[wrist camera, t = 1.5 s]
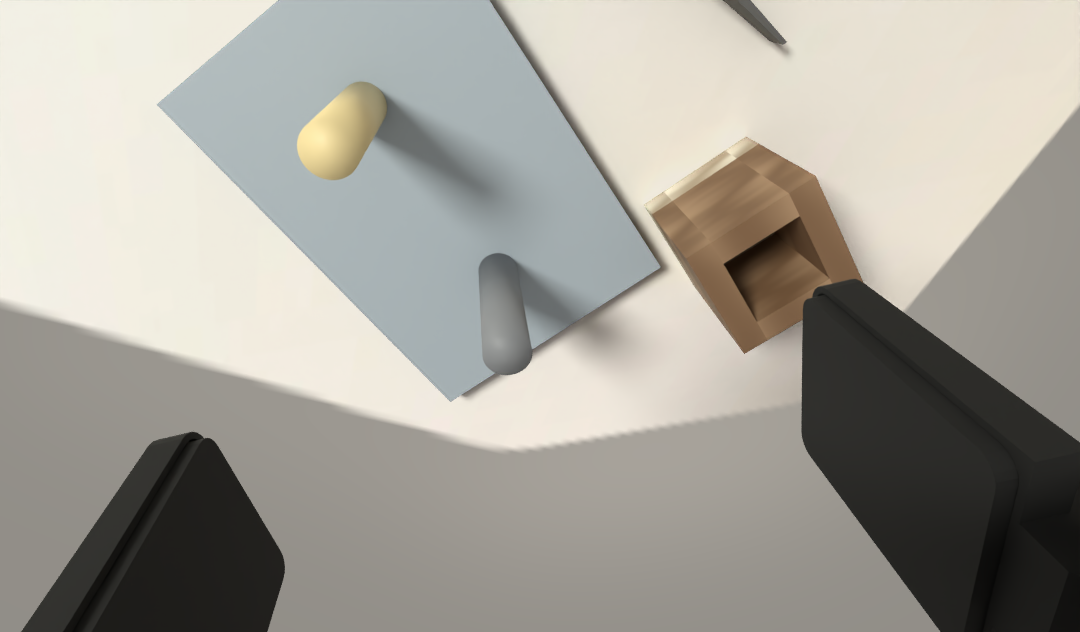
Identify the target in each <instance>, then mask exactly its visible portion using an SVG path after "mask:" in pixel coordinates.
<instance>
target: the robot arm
mask: <svg viewBox="0 0 1080 632" xmlns="http://www.w3.org/2000/svg"><path fill="white" fill-rule="evenodd" d="M802 438H803V442H804V445H805V447H806V450H807V452H808V453H809V455H810V456H811V458H812V459H813V460H814V462H815V463H816V465H817V466H818V467H819V469H820V470H821V471H822V473H823V474H824V475H825V477H826V478H827V479H828V481H829V482H830V483H831V485H832V486H833V487H834V489H835V490H836V491H837V493H838V494H839V495H840V497H841V498H842V500H843V501H844V502H845V504H846V505H847V506H848V508H849V509H850V510H851V512H852V513H853V514H854V516H855V517H856V518H857V520H858V521H859V522H860V524H861V525H862V526H863V528H864V529H865V530H866V532H867V533H868V535H869V536H870V537H871V539H872V540H873V541H874V543H875V544H876V545H877V547H878V548H879V549H880V551H881V552H882V553H883V555H884V556H885V557H886V559H887V560H888V561H889V563H890V564H891V565H892V567H893V568H894V570H895V571H896V572H897V574H898V575H899V576H900V578H901V579H902V580H903V582H904V583H905V584H906V586H907V587H908V589H909V590H910V591H911V592H912V594H913V595H914V597H915V598H916V599H917V601H918V602H919V603H920V605H921V606H922V607H923V609H924V610H925V611H926V613H927V614H928V615H929V617H930V618H931V619H932V621H933V622H934V624H935V625H936V626H937V627H938V629H939V630H940V632H1080V442H1078V441H1077V440H1076V439H1074V438H1073V437H1072V436H1070V435H1069V434H1067V433H1066V432H1065V431H1064V430H1062V429H1061V428H1059V427H1058V426H1057V425H1055V424H1054V423H1053V422H1051V421H1050V420H1049V419H1047V418H1046V417H1044V416H1043V415H1042V414H1040V413H1039V412H1038V411H1036V410H1035V409H1034V408H1032V407H1031V406H1030V405H1028V404H1027V403H1025V402H1024V401H1023V400H1021V399H1020V398H1019V397H1017V396H1016V395H1015V394H1013V393H1012V392H1010V391H1009V390H1008V389H1007V388H1005V387H1004V386H1002V385H1001V384H1000V383H998V382H997V381H996V380H994V379H993V378H991V377H990V376H989V375H988V374H986V373H985V372H983V371H982V370H981V369H979V368H978V367H977V366H975V365H974V364H973V363H971V362H970V361H969V360H967V359H966V358H965V357H963V356H962V355H960V354H959V353H958V352H956V351H955V350H953V349H952V348H951V347H949V346H948V345H947V344H946V343H944V342H943V341H941V340H940V339H939V338H937V337H936V336H934V335H933V334H932V333H931V332H929V331H928V330H927V329H925V328H923V327H922V326H921V325H920V324H918V323H917V322H916V321H914V320H913V319H912V318H910V317H909V316H908V315H906V314H905V313H903V312H902V311H901V310H899V309H898V308H897V307H895V306H894V305H893V304H891V303H890V302H889V301H887V300H886V299H884V298H883V297H882V296H880V295H879V294H878V293H876V292H875V291H874V290H872V289H871V288H870V287H868V286H867V285H866V284H864V283H863V282H861V281H860V280H858V279H849V280H845V281H841V282H836V283H832V284H828V285H823V286H819V287H817V288H816V289H815V290H814V292H813V295H812V298H809V299H806V300H805V302H804V304H803V342H802ZM284 573H285V565H284V559H283V555H282V553H281V551H280V549H279V548H278V546H277V545H276V543H275V541H274V539H273V538H272V536H271V534H270V533H269V531H268V529H267V528H266V526H265V524H264V523H263V521H262V519H261V518H260V516H259V514H258V512H257V511H256V509H255V507H254V506H253V504H252V502H251V501H250V499H249V497H248V496H247V494H246V492H245V491H244V489H243V487H242V486H241V484H240V482H239V481H238V479H237V477H236V476H235V474H234V473H233V471H232V469H231V467H230V466H229V464H228V462H227V461H226V459H225V457H224V456H223V454H222V452H221V451H220V449H219V447H218V446H217V444H216V443H215V442H214V441H213V440H212V439H210V438H205V439H204V438H203V437H202V436H201V435H200V434H198V433H196V432H189V433H185V434H181V435H176V436H172V437H168V438H163V439H159V440H156V441H153V442H152V443H151V444H150V445H149V446H148V447H147V449H146V450H145V452H144V453H143V455H142V456H141V458H140V459H139V461H138V462H137V463H136V465H135V466H134V468H133V470H132V471H131V472H130V474H129V475H128V477H127V478H126V480H125V481H124V483H123V484H122V485H121V487H120V489H119V490H118V492H117V493H116V494H115V496H114V497H113V499H112V500H111V502H110V503H109V505H108V506H107V507H106V509H105V510H104V512H103V513H102V515H101V516H100V518H99V519H98V520H97V522H96V523H95V525H94V526H93V528H92V529H91V531H90V532H89V534H88V535H87V537H86V538H85V539H84V541H83V542H82V544H81V545H80V547H79V548H78V550H77V551H76V553H75V554H74V556H73V557H72V558H71V560H70V561H69V563H68V564H67V566H66V567H65V569H64V570H63V572H62V573H61V575H60V576H59V578H58V579H57V580H56V582H55V583H54V585H53V586H52V588H51V589H50V591H49V592H48V594H47V595H46V596H45V598H44V600H43V601H42V602H41V604H40V605H39V607H38V608H37V610H36V611H35V613H34V614H33V616H32V617H31V619H30V620H29V621H28V623H27V624H26V626H25V627H24V629H23V630H22V632H267V631H268V627H269V624H270V621H271V617H272V614H273V611H274V608H275V605H276V601H277V598H278V595H279V591H280V588H281V585H282V581H283V578H284Z"/></svg>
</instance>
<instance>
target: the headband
mask: <svg viewBox="0 0 1080 632" xmlns="http://www.w3.org/2000/svg"><path fill="white" fill-rule="evenodd" d="M723 1H725V2H726V3H727V4H728V5H729V6H730V7H731V8H733V9H734V10H735V11H736V12H737V13H738V14H739V15H741V16H742V17H743V18H744V19H745V20H746V21H748V22H749V23H750V24H751V25H752V26H753V27H754V28H756V29H757V30H758V31H759V32H760V33H761V34H762V35H764V36H765V37H766V38H767V39H768V40H769V41H772V42H776V43H779V44H782V45H783V44H785V43H786V41H785V39H784V38H783V37H782V36H781V35H780V34H779V33H778V31H777V30H776V29H775V28H774V27H773V26H772V24H771V23H770V22H769V21H768V20H767V19H766V18H765V16H764V15H763V14H762V13H761V12H760V11H759V10H758V8H757V7H756V6H755V5H754V4H753V3H752V1H751V0H723Z"/></svg>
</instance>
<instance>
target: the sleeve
mask: <svg viewBox="0 0 1080 632" xmlns="http://www.w3.org/2000/svg"><path fill="white" fill-rule="evenodd" d="M644 206H645V208H646V209H647V211H648V212H649V214H650V216H651V217H652V219H653V220H654V222H655V224H656V225H657V227H658V228H659V230H660V232H661V233H662V235H663V237H664V238H665V240H666V241H667V243H668V245H669V246H670V248H671V249H672V251H673V253H674V254H675V256H676V257H677V259H678V261H679V262H680V264H681V266H682V267H683V269H684V270H685V272H686V274H687V275H688V277H689V278H690V280H691V282H692V283H693V285H694V286H695V288H696V289H697V291H698V292H699V293H700V295H701V296H702V297H703V299H704V300H705V301H706V303H707V304H708V305H709V307H710V308H711V310H712V311H713V312H714V314H715V315H716V316H717V318H718V319H719V320H720V322H721V323H722V324H723V326H724V327H725V328H726V330H727V331H728V332H729V334H730V335H731V336H732V338H733V339H734V340H735V342H736V343H737V344H738V346H739V347H740V349H741V350H742V351H743V353H744V354H745V353H747V352H748V351H750V350H752V349H753V348H755V347H757V346H758V345H760V344H762V343H764V342H765V341H767V340H769V339H770V338H772V337H774V336H775V335H777V334H779V333H781V332H782V331H784V330H786V329H787V328H789V327H791V326H792V325H794V324H796V323H797V322H799V321H801V320H803V304H804V302H805V300H806V299H809V298H812V295H813V292H814V290H815V289H816V288H817V287H819V286H823V285H828V284H832V283H836V282H841V281H845V280H849V279H858V280H860V281H861V282H863V281H862V279H861V276H860V274H859V272H858V270H857V267H856V265H855V263H854V261H853V258H852V256H851V254H850V252H849V249H848V247H847V245H846V243H845V241H844V238H843V236H842V234H841V232H840V229H839V227H838V225H837V223H836V220H835V218H834V216H833V214H832V211H831V209H830V207H829V205H828V202H827V200H826V198H825V196H824V193H823V191H822V189H821V187H820V184H819V182H818V180H817V178H816V176H815V175H813V174H811V173H809V172H808V171H806V170H804V169H802V168H801V167H799V166H797V165H795V164H793V163H792V162H790V161H788V160H786V159H785V158H783V157H781V156H779V155H778V154H776V153H774V152H772V151H770V150H769V149H767V148H765V147H763V146H762V145H760V144H758V143H756V142H755V141H753V140H751V139H749V138H748V137H745V138H744V139H742V140H741V141H739V142H738V143H736V144H735V145H733V146H732V147H730V148H729V149H727V150H726V151H724V152H723V153H721V154H720V155H718V156H717V157H715V158H714V159H712V160H711V161H709V162H708V163H706V164H705V165H703V166H702V167H700V168H699V169H697V170H696V171H694V172H693V173H691V174H690V175H688V176H687V177H685V178H684V179H682V180H681V181H679V182H678V183H676V184H675V185H673V186H672V187H670V188H669V189H667V190H666V191H664V192H663V193H661V194H660V195H658V196H657V197H655V198H654V199H652V200H651V201H649V202H648V203H646V204H645V205H644Z"/></svg>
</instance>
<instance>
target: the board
mask: <svg viewBox="0 0 1080 632" xmlns="http://www.w3.org/2000/svg"><path fill="white" fill-rule="evenodd" d="M157 105H158V106H159V107H160V108H161V109H162V110H163V111H164V112H165V113H166V114H167V115H168V116H169V117H170V118H171V119H172V120H173V121H174V122H175V124H176V125H177V126H178V127H179V128H180V129H181V130H182V131H183V132H184V133H185V134H186V135H187V136H188V137H189V138H190V139H191V140H192V141H193V142H194V143H195V144H196V145H197V146H198V147H199V148H200V149H201V150H202V151H203V152H204V153H205V154H206V155H207V156H208V157H209V158H210V159H211V160H212V161H213V162H214V163H215V164H216V165H217V166H218V167H219V168H220V169H221V170H222V171H223V172H224V173H225V174H226V175H227V176H228V177H229V178H230V179H231V180H232V181H233V182H234V183H235V184H236V185H237V186H238V187H239V188H240V189H241V190H242V191H243V192H244V193H245V194H246V195H247V196H248V197H249V198H250V199H251V200H252V201H253V202H254V203H255V204H256V205H257V206H258V208H259V209H260V210H261V211H262V212H263V213H264V214H265V215H266V216H267V217H268V218H269V219H270V220H271V221H272V222H273V223H274V224H275V225H276V226H277V227H278V228H279V229H280V230H281V231H282V232H283V233H284V234H285V235H286V236H287V237H288V238H289V239H290V240H291V241H292V242H293V243H294V244H295V245H296V246H297V247H298V248H299V249H300V250H301V251H302V252H303V253H304V254H305V255H306V256H307V257H308V258H309V259H310V260H311V261H312V262H313V263H314V264H315V265H316V266H317V267H318V268H319V269H320V270H321V271H322V272H323V273H324V274H325V275H326V276H327V277H328V278H329V279H330V280H331V281H332V282H333V283H334V284H335V285H336V286H337V287H338V288H339V289H340V290H341V292H342V293H343V294H344V295H345V296H346V297H347V298H348V299H349V300H350V301H351V302H352V303H353V304H354V305H355V306H356V307H357V308H358V309H359V310H360V311H361V312H362V313H363V314H364V315H365V316H366V317H367V318H368V319H369V320H370V321H371V322H372V323H373V324H374V325H375V326H376V327H377V328H378V329H379V330H380V331H381V332H382V333H383V334H384V335H385V336H386V337H387V338H388V339H389V340H390V341H391V342H392V343H393V344H394V345H395V346H396V347H397V348H398V349H399V350H400V351H401V352H402V353H403V354H404V355H405V356H406V357H407V358H408V359H409V360H410V361H411V362H412V363H413V364H414V365H415V366H416V367H417V368H418V369H419V370H420V371H421V372H422V373H423V374H424V376H425V377H426V378H427V379H428V380H429V381H430V382H431V383H432V384H433V385H434V386H435V387H436V388H437V389H438V390H439V391H440V392H441V393H442V394H443V395H444V396H445V397H446V398H447V399H448V400H449V401H450V402H451V401H453V400H454V399H456V398H457V397H459V396H460V395H462V394H463V393H465V392H467V391H468V390H470V389H471V388H473V387H474V386H476V385H478V384H479V383H481V382H482V381H484V380H485V379H487V378H489V377H490V376H492V375H493V374H495V373H497V374H500V375H512V374H516V373H518V372H520V371H522V370H523V369H525V368H526V367H527V366H528V364H529V363H530V361H531V358H532V349H534V348H535V347H537V346H539V345H540V344H542V343H543V342H545V341H546V340H548V339H550V338H551V337H553V336H554V335H556V334H557V333H559V332H560V331H562V330H564V329H565V328H567V327H568V326H570V325H571V324H573V323H575V322H576V321H578V320H579V319H581V318H582V317H584V316H585V315H587V314H589V313H590V312H592V311H593V310H595V309H596V308H598V307H600V306H601V305H603V304H604V303H606V302H607V301H609V300H611V299H612V298H614V297H615V296H617V295H618V294H620V293H621V292H623V291H625V290H626V289H628V288H629V287H631V286H632V285H634V284H636V283H637V282H639V281H640V280H642V279H643V278H645V277H646V276H648V275H650V274H651V273H653V272H654V271H656V270H657V269H659V268H661V267H660V265H659V263H658V262H657V260H656V259H655V257H654V256H653V254H652V253H651V251H650V249H649V248H648V246H647V245H646V243H645V242H644V240H643V239H642V237H641V235H640V234H639V232H638V231H637V229H636V228H635V226H634V225H633V223H632V221H631V220H630V218H629V217H628V215H627V214H626V212H625V211H624V209H623V207H622V206H621V204H620V203H619V201H618V200H617V198H616V197H615V195H614V193H613V192H612V190H611V189H610V187H609V186H608V184H607V183H606V181H605V179H604V178H603V176H602V175H601V173H600V172H599V170H598V169H597V167H596V165H595V164H594V162H593V161H592V159H591V158H590V156H589V154H588V153H587V151H586V150H585V148H584V147H583V145H582V144H581V142H580V140H579V139H578V137H577V136H576V134H575V133H574V131H573V130H572V128H571V126H570V125H569V123H568V122H567V120H566V119H565V117H564V116H563V114H562V112H561V111H560V109H559V108H558V106H557V105H556V103H555V102H554V100H553V98H552V97H551V95H550V94H549V92H548V91H547V89H546V88H545V86H544V84H543V83H542V81H541V80H540V78H539V77H538V75H537V74H536V72H535V70H534V69H533V67H532V66H531V64H530V63H529V61H528V60H527V58H526V56H525V55H524V53H523V52H522V50H521V49H520V47H519V46H518V44H517V42H516V41H515V39H514V38H513V36H512V35H511V33H510V32H509V30H508V28H507V27H506V25H505V24H504V22H503V21H502V19H501V17H500V16H499V14H498V13H497V11H496V10H495V8H494V7H493V5H492V3H491V2H490V0H278V1H277V2H276V3H275V4H274V5H272V6H271V7H270V8H269V9H268V10H267V11H265V12H264V13H263V14H262V15H261V16H260V17H258V18H257V19H256V20H255V21H254V22H253V23H251V24H250V25H249V26H248V27H247V28H246V29H244V30H243V31H242V32H241V33H240V34H239V35H237V36H236V37H235V38H234V39H233V40H232V41H230V42H229V43H228V44H227V45H226V46H225V47H223V48H222V49H221V50H220V51H219V52H218V53H216V54H215V55H214V56H213V57H212V58H211V59H209V60H208V61H207V62H206V63H205V64H204V65H202V66H201V67H200V68H199V69H198V70H197V71H195V72H194V73H193V74H192V75H191V76H190V77H188V78H187V79H186V80H185V81H184V82H183V83H181V84H180V85H179V86H178V87H177V88H176V89H174V90H173V91H172V92H171V93H170V94H169V95H167V96H166V97H165V98H164V99H163V100H162V101H160V102H159V103H158V104H157Z"/></svg>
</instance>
